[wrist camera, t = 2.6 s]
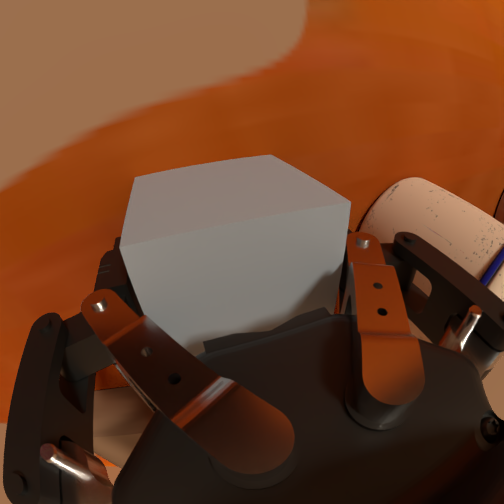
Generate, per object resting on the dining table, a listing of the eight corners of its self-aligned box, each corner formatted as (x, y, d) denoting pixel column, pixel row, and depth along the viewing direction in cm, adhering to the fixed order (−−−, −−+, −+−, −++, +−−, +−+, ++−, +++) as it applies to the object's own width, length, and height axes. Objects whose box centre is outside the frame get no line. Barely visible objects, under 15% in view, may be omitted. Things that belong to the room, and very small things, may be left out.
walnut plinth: (193, 374, 18) (206, 421, 15) (215, 423, 24) (226, 457, 20) (73, 392, 16) (72, 437, 13) (123, 438, 21) (128, 472, 18)
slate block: (270, 154, 12) (351, 202, 7) (272, 263, 15) (327, 343, 10) (135, 176, 11) (119, 247, 6) (163, 288, 14) (178, 386, 9)
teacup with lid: (340, 302, 19) (439, 430, 10) (353, 179, 14) (541, 314, 5) (440, 258, 22) (525, 335, 12) (462, 166, 17) (576, 236, 7)
